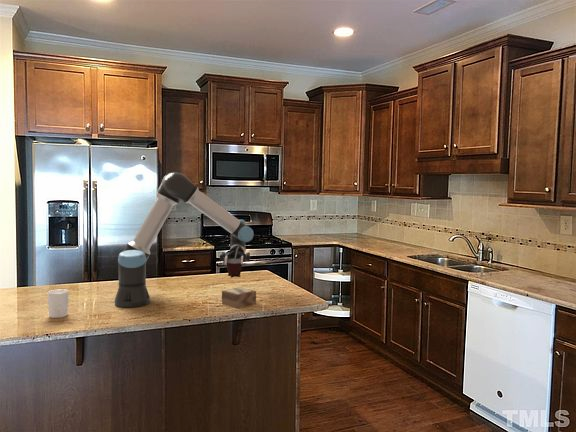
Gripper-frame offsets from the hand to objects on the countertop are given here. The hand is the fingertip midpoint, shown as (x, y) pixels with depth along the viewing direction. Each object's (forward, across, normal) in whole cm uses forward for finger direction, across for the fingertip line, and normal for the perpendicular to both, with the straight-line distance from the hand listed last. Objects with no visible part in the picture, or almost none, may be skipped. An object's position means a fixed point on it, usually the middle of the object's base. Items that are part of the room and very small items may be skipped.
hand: (233, 260), depth 206 cm
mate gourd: (-5, 0, -8) cm, 10 cm away
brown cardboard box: (-4, -2, -21) cm, 21 cm away
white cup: (+15, +70, -20) cm, 75 cm away
